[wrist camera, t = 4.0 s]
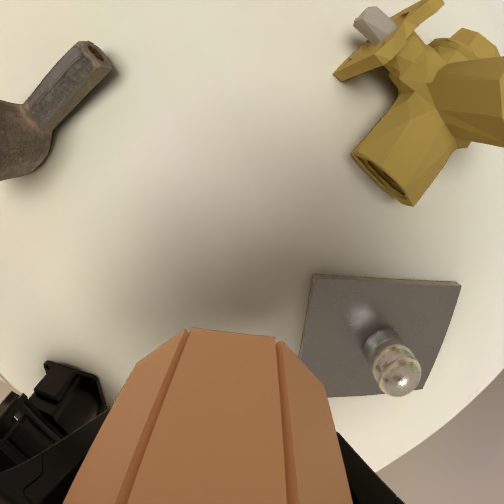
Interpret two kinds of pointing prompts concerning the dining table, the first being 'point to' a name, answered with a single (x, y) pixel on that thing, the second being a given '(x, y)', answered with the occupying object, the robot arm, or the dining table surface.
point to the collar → (216, 429)
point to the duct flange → (375, 333)
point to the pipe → (47, 108)
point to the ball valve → (425, 98)
